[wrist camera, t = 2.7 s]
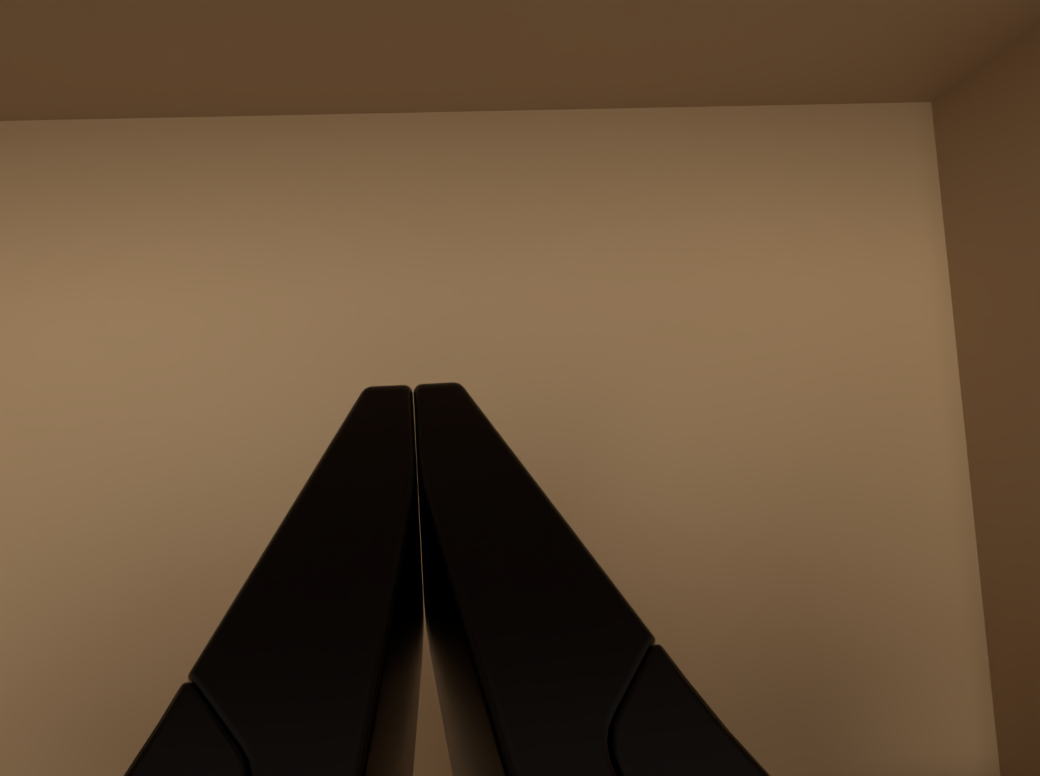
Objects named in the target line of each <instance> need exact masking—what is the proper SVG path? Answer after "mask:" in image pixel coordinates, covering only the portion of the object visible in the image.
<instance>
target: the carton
mask: <svg viewBox="0 0 1040 776" xmlns="http://www.w3.org/2000/svg"><path fill="white" fill-rule="evenodd" d="M448 382H455V383H459V384H461V385H462V386H463V387H464V388H465V389H466V391H467V392H468V393H469V395H470V396H471V397H472V398H473V400H474V401H475V402H476V404H477V405H478V406H479V408H480V409H481V410H482V412H483V413H484V414H485V415H486V417H487V418H488V419H489V421H490V422H491V423H492V425H493V426H494V427H495V429H496V430H497V431H498V432H499V434H500V435H501V436H502V438H503V439H504V440H505V442H506V443H507V444H508V446H509V447H510V448H511V449H512V451H513V452H514V453H515V455H516V456H517V457H518V459H519V460H520V461H521V463H522V464H523V465H524V466H525V468H526V469H527V470H528V472H529V473H530V474H531V476H532V477H533V478H534V480H535V481H536V482H537V483H538V485H539V486H540V487H541V489H542V490H543V491H544V493H545V494H546V495H547V497H548V498H549V499H550V500H551V502H552V503H553V504H554V506H555V507H556V508H557V510H558V511H559V512H560V514H561V515H562V516H563V518H564V519H565V520H566V521H567V523H568V524H569V525H570V527H571V528H572V529H573V531H574V532H575V533H576V535H577V536H578V537H579V538H580V540H581V541H582V542H583V544H584V545H585V546H586V548H587V549H588V550H589V552H590V553H591V554H592V555H593V557H594V558H595V559H596V561H597V562H598V563H599V565H600V566H601V567H602V569H603V570H604V571H605V572H606V574H607V575H608V576H609V578H610V579H611V580H612V582H613V583H614V584H615V586H616V587H617V588H618V589H619V591H620V592H621V593H622V595H623V596H624V597H625V599H626V600H627V601H628V603H629V604H630V605H631V606H632V608H633V609H634V610H635V612H636V613H637V614H638V616H639V617H640V618H641V620H642V621H643V622H644V624H645V625H646V626H647V627H648V629H649V630H650V631H651V633H652V634H653V635H654V637H655V644H660V645H662V646H663V648H664V649H665V650H666V652H667V653H668V654H669V656H670V657H671V658H672V660H673V661H674V662H675V663H676V665H677V666H678V667H679V669H680V670H681V671H682V673H683V674H684V675H685V677H686V678H687V679H688V681H689V682H690V683H691V684H692V685H693V687H694V688H695V689H696V690H697V692H698V693H699V694H700V695H701V696H702V698H703V699H704V700H705V701H706V703H707V704H708V705H709V706H710V707H711V709H712V710H713V711H714V712H715V714H716V715H717V716H718V717H719V719H720V720H721V721H722V722H723V723H724V725H725V726H726V727H727V728H728V730H729V731H730V732H731V733H732V734H733V735H734V736H735V737H736V739H737V740H738V741H739V742H740V743H741V744H742V745H743V746H744V747H745V748H746V749H747V750H748V752H749V753H750V754H751V755H752V756H753V757H754V758H755V759H756V760H757V761H758V762H759V763H760V765H761V766H762V767H763V768H764V769H765V770H766V771H767V772H768V773H769V774H770V775H771V776H1040V0H0V776H123V775H124V774H125V772H126V771H127V769H128V768H129V766H130V765H131V763H132V762H133V760H134V759H135V757H136V756H137V754H138V753H139V751H140V750H141V748H142V747H143V745H144V744H145V742H146V740H147V739H148V737H149V736H150V734H151V733H152V731H153V730H154V728H155V727H156V725H157V724H158V722H159V720H160V719H161V717H162V715H163V714H164V712H165V710H166V709H167V707H168V706H169V704H170V702H171V701H172V699H173V697H174V696H175V694H176V692H177V691H178V689H179V688H180V686H181V685H182V684H183V683H185V682H189V680H188V674H189V672H190V671H191V669H192V667H193V666H194V664H195V662H196V661H197V659H198V658H199V656H200V654H201V653H202V651H203V649H204V648H205V646H206V645H207V643H208V641H209V640H210V638H211V636H212V635H213V633H214V632H215V630H216V628H217V627H218V625H219V623H220V622H221V620H222V618H223V617H224V615H225V614H226V612H227V610H228V609H229V607H230V605H231V604H232V602H233V601H234V599H235V597H236V596H237V594H238V592H239V591H240V589H241V588H242V586H243V584H244V583H245V581H246V579H247V578H248V576H249V575H250V573H251V571H252V570H253V568H254V566H255V565H256V563H257V561H258V560H259V558H260V557H261V555H262V553H263V552H264V550H265V548H266V547H267V545H268V544H269V542H270V540H271V539H272V537H273V535H274V534H275V532H276V531H277V529H278V527H279V526H280V524H281V522H282V521H283V519H284V518H285V516H286V514H287V513H288V511H289V509H290V508H291V506H292V505H293V503H294V501H295V500H296V498H297V496H298V495H299V493H300V491H301V490H302V488H303V487H304V485H305V483H306V482H307V480H308V478H309V477H310V475H311V474H312V472H313V470H314V469H315V467H316V465H317V464H318V462H319V461H320V459H321V457H322V456H323V454H324V452H325V451H326V449H327V448H328V446H329V444H330V443H331V441H332V439H333V438H334V436H335V434H336V433H337V431H338V430H339V428H340V426H341V425H342V423H343V421H344V420H345V418H346V417H347V415H348V413H349V412H350V410H351V408H352V407H353V405H354V404H355V402H356V400H357V399H358V397H359V395H360V394H361V393H362V391H363V390H364V389H366V388H367V387H371V386H388V385H407V386H409V387H410V388H411V389H412V392H414V389H415V387H416V386H417V385H419V384H428V383H448ZM413 406H414V396H413ZM414 424H415V417H414ZM415 443H416V437H415ZM416 461H417V458H416ZM417 481H418V477H417ZM418 501H419V497H418ZM419 522H420V516H419ZM420 543H421V535H420ZM421 563H422V554H421ZM422 584H423V573H422ZM423 608H424V592H423ZM413 776H453V774H452V768H451V763H450V758H449V752H448V747H447V741H446V736H445V731H444V725H443V720H442V714H441V709H440V704H439V698H438V693H437V688H436V682H435V677H434V671H433V666H432V661H431V655H430V649H429V643H428V636H427V629H426V620H425V608H424V635H423V655H422V668H421V680H420V693H419V706H418V719H417V731H416V744H415V757H414V769H413Z"/></svg>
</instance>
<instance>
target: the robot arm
mask: <svg viewBox="0 0 1040 776" xmlns="http://www.w3.org/2000/svg"><path fill="white" fill-rule="evenodd" d="M413 396H414V406H413ZM414 417H415V424H414ZM415 437H416V443H415ZM416 458H417V461H416ZM417 477H418V481H417ZM418 497H419V501H418ZM419 516H420V522H419ZM420 535H421V543H420ZM421 554H422V563H421ZM422 573H423V584H422ZM423 592H424V608H425V620H426V629H427V636H428V643H429V649H430V655H431V661H432V666H433V671H434V677H435V682H436V688H437V693H438V698H439V704H440V709H441V714H442V720H443V725H444V731H445V736H446V741H447V747H448V752H449V758H450V763H451V768H452V774H453V776H771V775H770V774H769V773H768V772H767V771H766V770H765V769H764V768H763V767H762V766H761V765H760V763H759V762H758V761H757V760H756V759H755V758H754V757H753V756H752V755H751V754H750V753H749V752H748V750H747V749H746V748H745V747H744V746H743V745H742V744H741V743H740V742H739V741H738V740H737V739H736V737H735V736H734V735H733V734H732V733H731V732H730V731H729V730H728V728H727V727H726V726H725V725H724V723H723V722H722V721H721V720H720V719H719V717H718V716H717V715H716V714H715V712H714V711H713V710H712V709H711V707H710V706H709V705H708V704H707V703H706V701H705V700H704V699H703V698H702V696H701V695H700V694H699V693H698V692H697V690H696V689H695V688H694V687H693V685H692V684H691V683H690V682H689V681H688V679H687V678H686V677H685V675H684V674H683V673H682V671H681V670H680V669H679V667H678V666H677V665H676V663H675V662H674V661H673V660H672V658H671V657H670V656H669V654H668V653H667V652H666V650H665V649H664V648H663V646H662V645H660V644H655V637H654V635H653V634H652V633H651V631H650V630H649V629H648V627H647V626H646V625H645V624H644V622H643V621H642V620H641V618H640V617H639V616H638V614H637V613H636V612H635V610H634V609H633V608H632V606H631V605H630V604H629V603H628V601H627V600H626V599H625V597H624V596H623V595H622V593H621V592H620V591H619V589H618V588H617V587H616V586H615V584H614V583H613V582H612V580H611V579H610V578H609V576H608V575H607V574H606V572H605V571H604V570H603V569H602V567H601V566H600V565H599V563H598V562H597V561H596V559H595V558H594V557H593V555H592V554H591V553H590V552H589V550H588V549H587V548H586V546H585V545H584V544H583V542H582V541H581V540H580V538H579V537H578V536H577V535H576V533H575V532H574V531H573V529H572V528H571V527H570V525H569V524H568V523H567V521H566V520H565V519H564V518H563V516H562V515H561V514H560V512H559V511H558V510H557V508H556V507H555V506H554V504H553V503H552V502H551V500H550V499H549V498H548V497H547V495H546V494H545V493H544V491H543V490H542V489H541V487H540V486H539V485H538V483H537V482H536V481H535V480H534V478H533V477H532V476H531V474H530V473H529V472H528V470H527V469H526V468H525V466H524V465H523V464H522V463H521V461H520V460H519V459H518V457H517V456H516V455H515V453H514V452H513V451H512V449H511V448H510V447H509V446H508V444H507V443H506V442H505V440H504V439H503V438H502V436H501V435H500V434H499V432H498V431H497V430H496V429H495V427H494V426H493V425H492V423H491V422H490V421H489V419H488V418H487V417H486V415H485V414H484V413H483V412H482V410H481V409H480V408H479V406H478V405H477V404H476V402H475V401H474V400H473V398H472V397H471V396H470V395H469V393H468V392H467V391H466V389H465V388H464V387H463V386H462V385H461V384H459V383H455V382H448V383H428V384H419V385H417V386H416V387H415V389H414V392H412V389H411V388H410V387H409V386H407V385H388V386H371V387H367V388H366V389H364V390H363V391H362V393H361V394H360V395H359V397H358V399H357V400H356V402H355V404H354V405H353V407H352V408H351V410H350V412H349V413H348V415H347V417H346V418H345V420H344V421H343V423H342V425H341V426H340V428H339V430H338V431H337V433H336V434H335V436H334V438H333V439H332V441H331V443H330V444H329V446H328V448H327V449H326V451H325V452H324V454H323V456H322V457H321V459H320V461H319V462H318V464H317V465H316V467H315V469H314V470H313V472H312V474H311V475H310V477H309V478H308V480H307V482H306V483H305V485H304V487H303V488H302V490H301V491H300V493H299V495H298V496H297V498H296V500H295V501H294V503H293V505H292V506H291V508H290V509H289V511H288V513H287V514H286V516H285V518H284V519H283V521H282V522H281V524H280V526H279V527H278V529H277V531H276V532H275V534H274V535H273V537H272V539H271V540H270V542H269V544H268V545H267V547H266V548H265V550H264V552H263V553H262V555H261V557H260V558H259V560H258V561H257V563H256V565H255V566H254V568H253V570H252V571H251V573H250V575H249V576H248V578H247V579H246V581H245V583H244V584H243V586H242V588H241V589H240V591H239V592H238V594H237V596H236V597H235V599H234V601H233V602H232V604H231V605H230V607H229V609H228V610H227V612H226V614H225V615H224V617H223V618H222V620H221V622H220V623H219V625H218V627H217V628H216V630H215V632H214V633H213V635H212V636H211V638H210V640H209V641H208V643H207V645H206V646H205V648H204V649H203V651H202V653H201V654H200V656H199V658H198V659H197V661H196V662H195V664H194V666H193V667H192V669H191V671H190V672H189V674H188V680H189V682H185V683H183V684H182V685H181V686H180V688H179V689H178V691H177V692H176V694H175V696H174V697H173V699H172V701H171V702H170V704H169V706H168V707H167V709H166V710H165V712H164V714H163V715H162V717H161V719H160V720H159V722H158V724H157V725H156V727H155V728H154V730H153V731H152V733H151V734H150V736H149V737H148V739H147V740H146V742H145V744H144V745H143V747H142V748H141V750H140V751H139V753H138V754H137V756H136V757H135V759H134V760H133V762H132V763H131V765H130V766H129V768H128V769H127V771H126V772H125V774H124V775H123V776H413V769H414V757H415V744H416V731H417V719H418V706H419V693H420V680H421V668H422V655H423V635H424V608H423Z"/></svg>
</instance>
